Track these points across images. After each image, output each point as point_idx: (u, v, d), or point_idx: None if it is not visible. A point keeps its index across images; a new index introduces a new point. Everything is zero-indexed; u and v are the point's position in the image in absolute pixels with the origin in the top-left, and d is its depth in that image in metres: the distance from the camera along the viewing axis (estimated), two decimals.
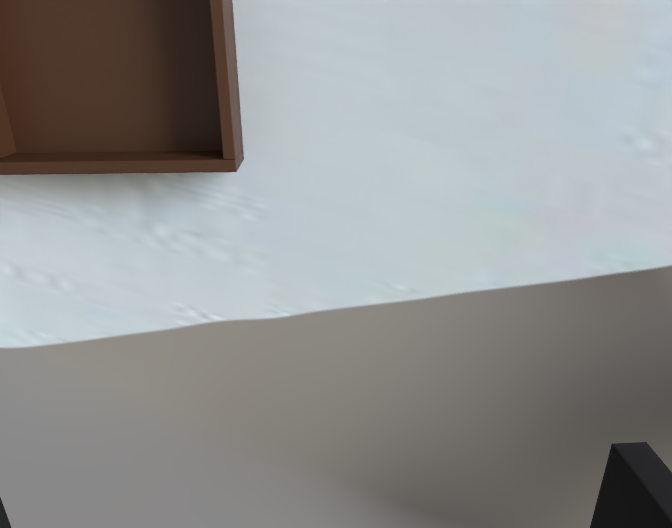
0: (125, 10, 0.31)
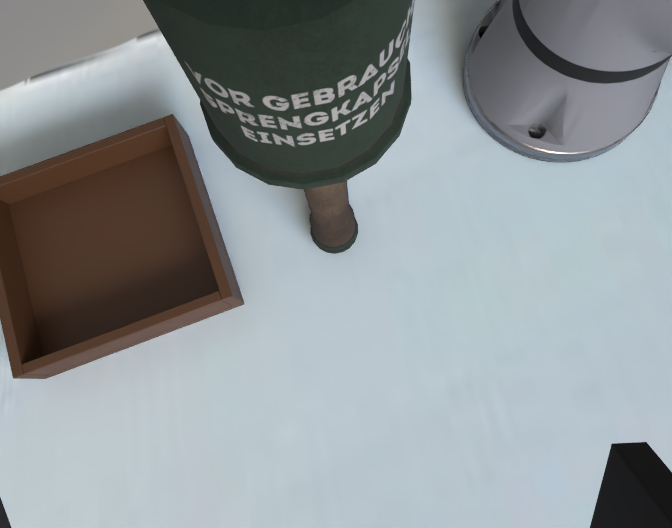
0: (132, 260, 0.41)
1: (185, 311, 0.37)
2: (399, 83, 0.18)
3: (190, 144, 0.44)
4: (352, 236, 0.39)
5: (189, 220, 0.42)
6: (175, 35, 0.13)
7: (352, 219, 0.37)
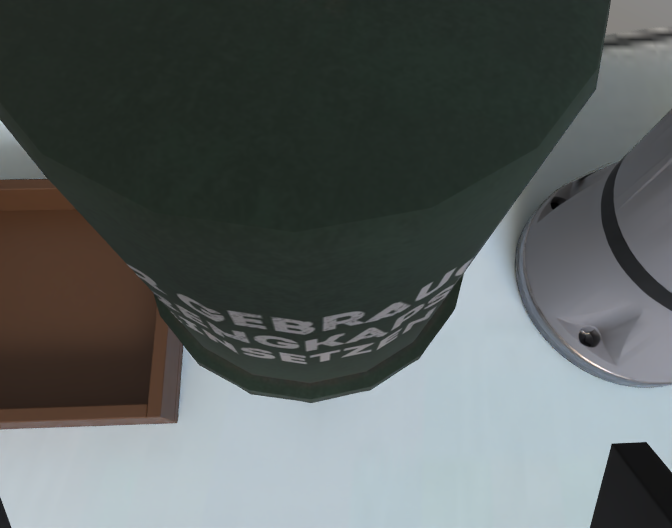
0: (69, 324, 0.34)
1: (96, 416, 0.29)
2: None
3: None
4: None
5: (154, 299, 0.35)
6: None
7: None
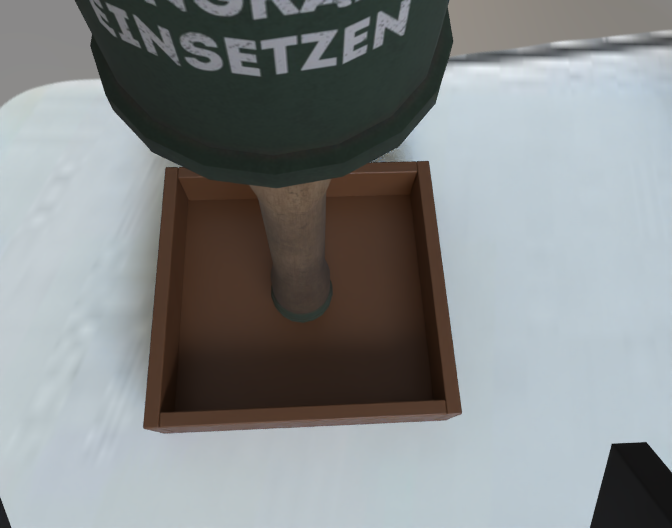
0: (319, 317, 0.32)
1: (395, 413, 0.27)
2: (421, 31, 0.10)
3: None
4: (320, 306, 0.30)
5: (403, 290, 0.33)
6: None
7: (324, 284, 0.28)
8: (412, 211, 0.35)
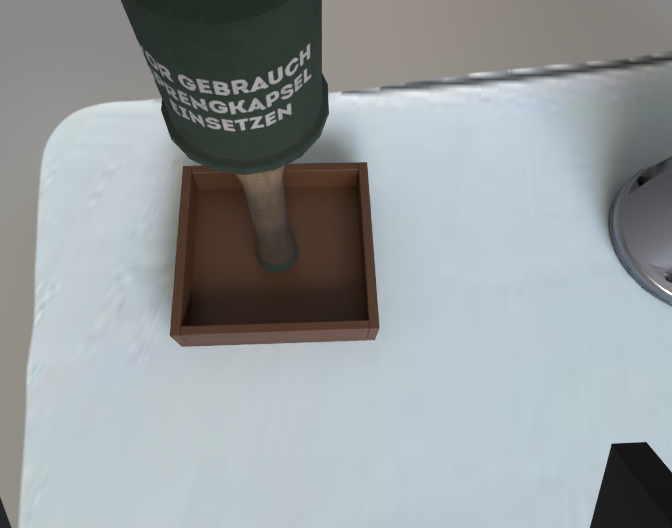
0: (289, 270, 0.46)
1: (334, 328, 0.41)
2: (301, 111, 0.24)
3: None
4: (288, 261, 0.44)
5: (348, 253, 0.47)
6: (126, 11, 0.19)
7: (289, 244, 0.42)
8: (357, 198, 0.49)
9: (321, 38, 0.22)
